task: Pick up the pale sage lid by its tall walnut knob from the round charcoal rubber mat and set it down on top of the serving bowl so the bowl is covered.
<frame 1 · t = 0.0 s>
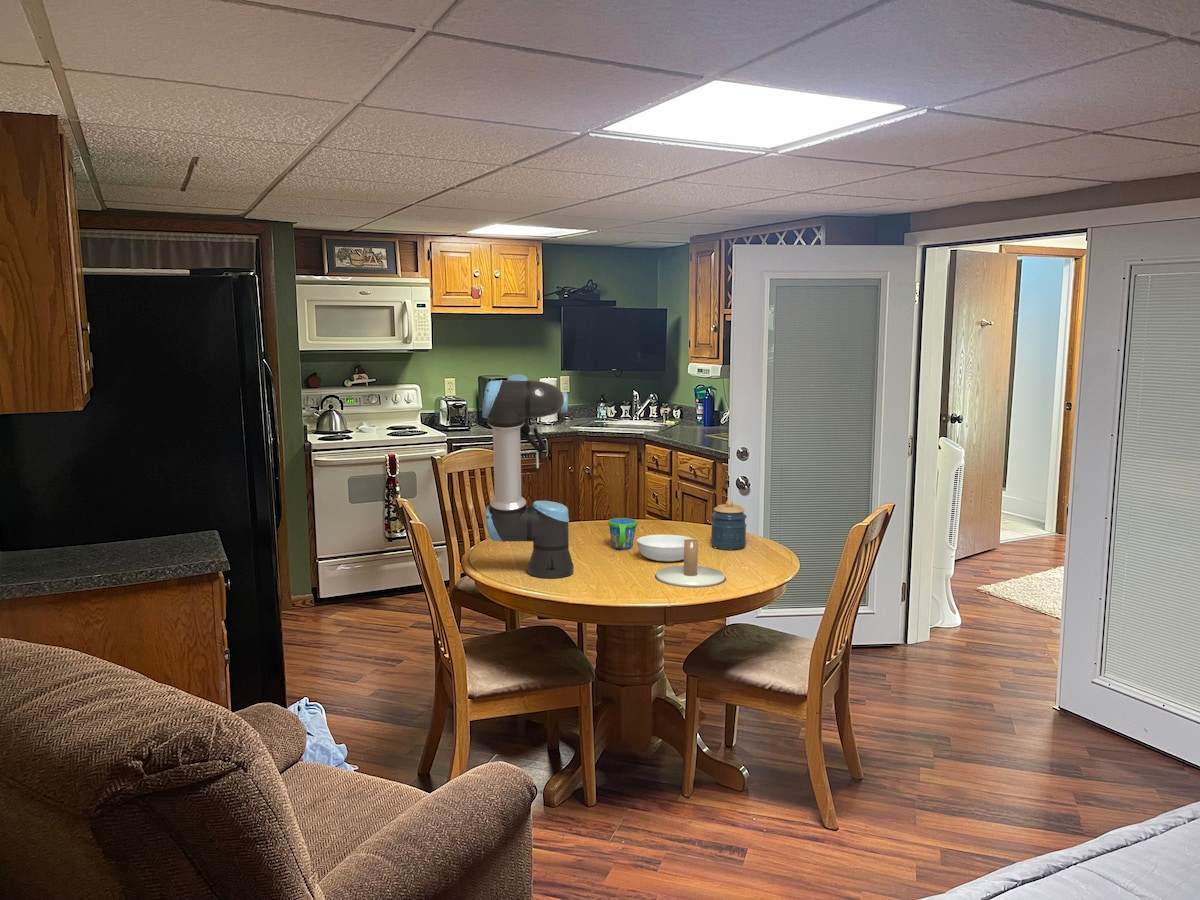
hand: (519, 466, 335), 28 cm above the table, tool tilted 20°, fingers open, 13 cm apart
canister: (728, 547, 329), on the table
snack cup: (622, 548, 326), on the table
serving bowl: (666, 560, 310), on the table
mat: (690, 579, 284), on the table
lid: (690, 577, 284), point 1 cm above the table, touching mat
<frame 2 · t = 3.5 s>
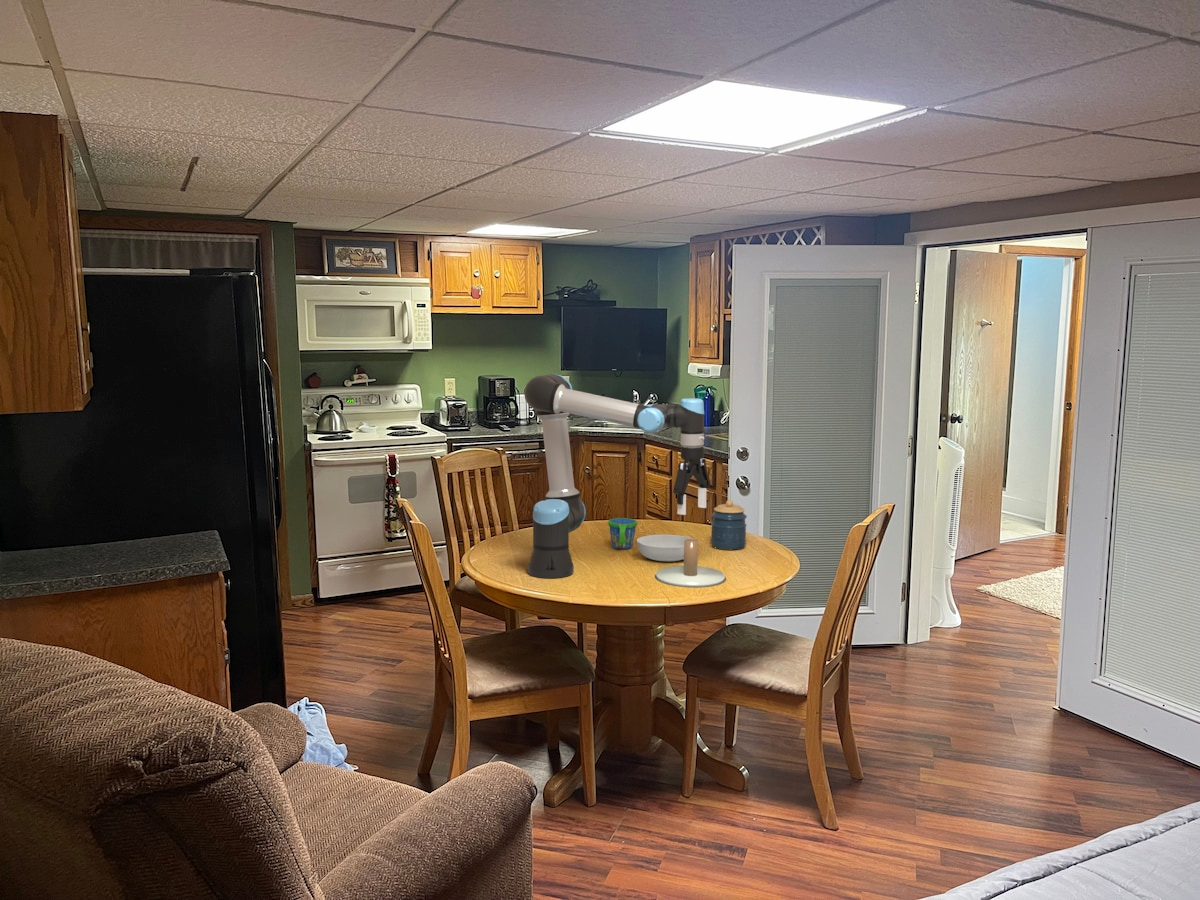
hand: (692, 511, 288), 21 cm above the table, tool pointing down, fingers open, 13 cm apart
nothing on the table moved.
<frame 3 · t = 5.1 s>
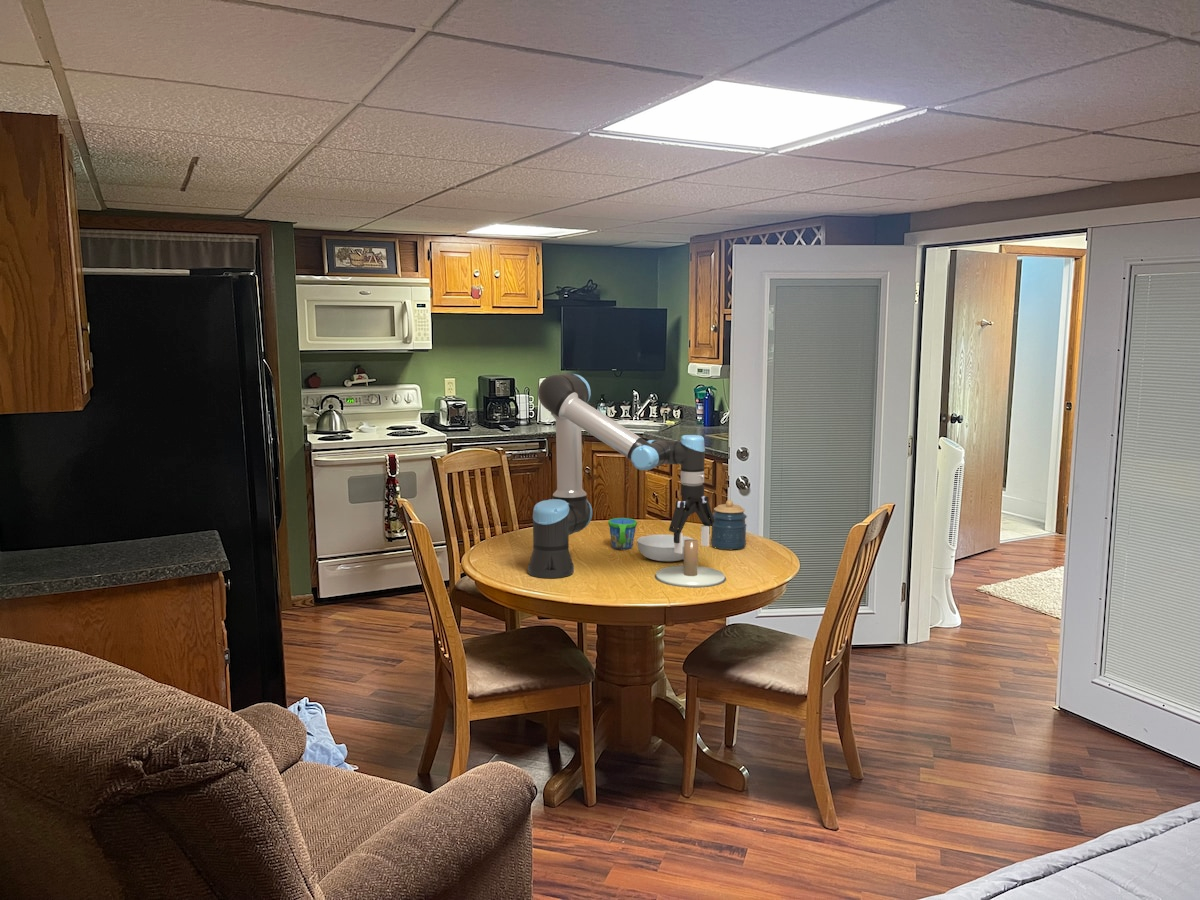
hand: (691, 549, 283), 10 cm above the table, tool pointing down, fingers open, 13 cm apart
nothing on the table moved.
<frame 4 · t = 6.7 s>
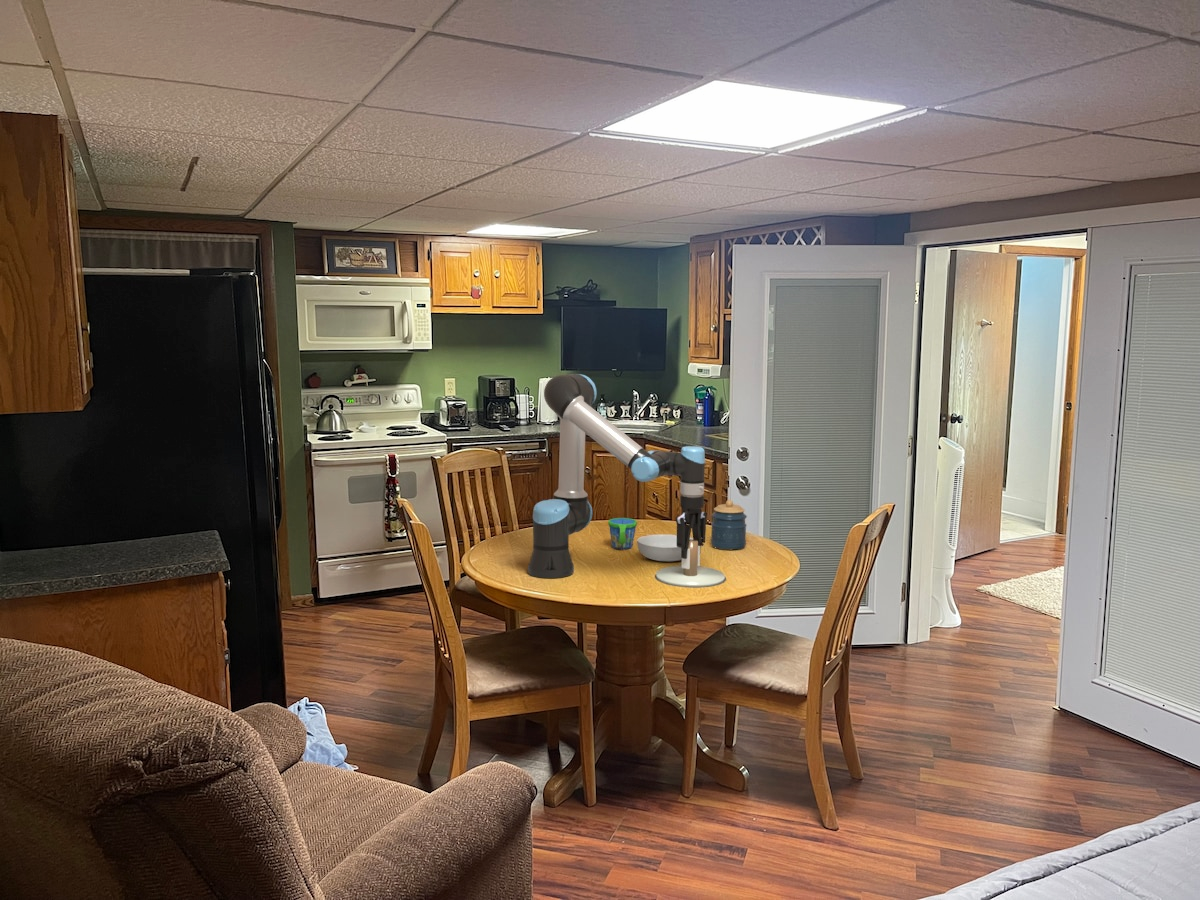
hand: (690, 566, 284), 4 cm above the table, tool pointing down, fingers closed on lid, 4 cm apart
lid: (690, 577, 284), point 1 cm above the table, touching gripper, mat
everything else where it was.
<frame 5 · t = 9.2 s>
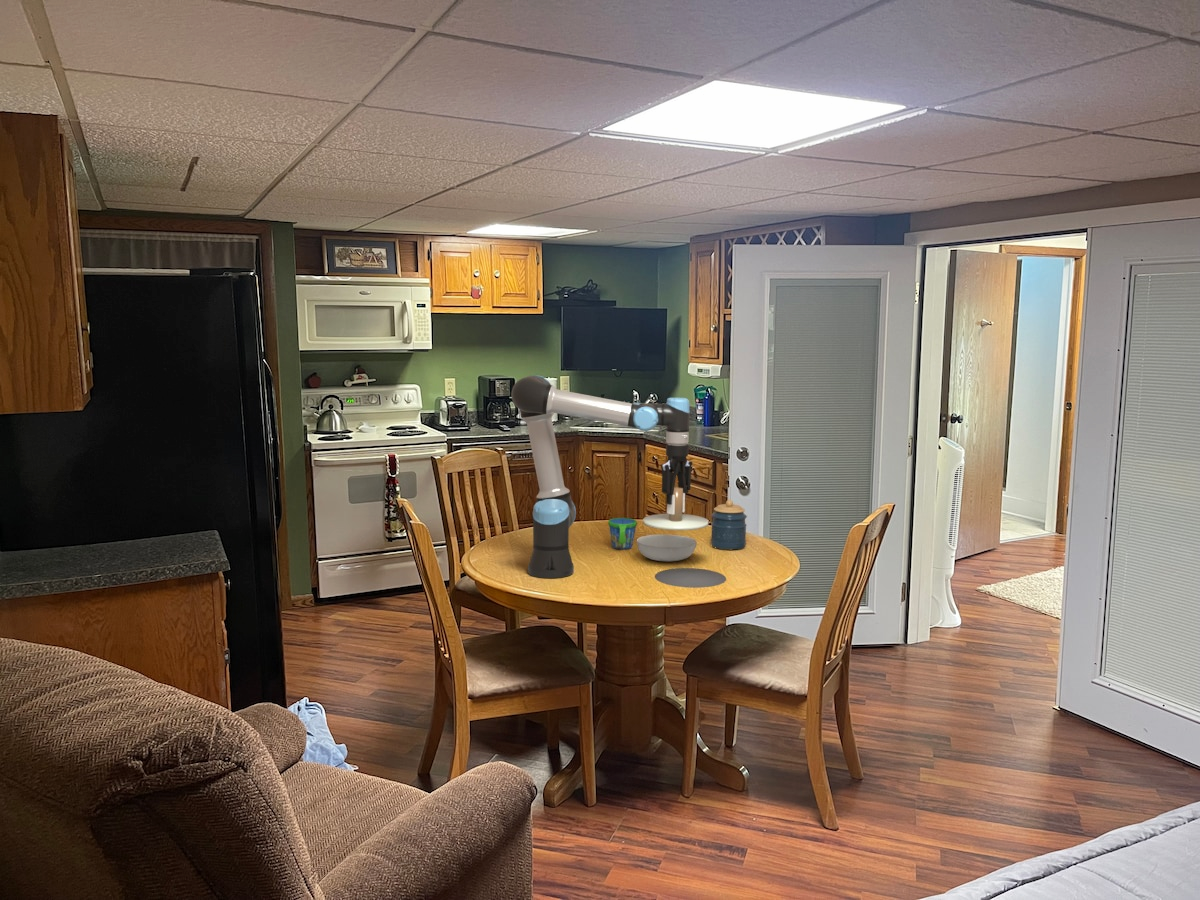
hand: (675, 512, 298), 19 cm above the table, tool pointing down, fingers closed on lid, 4 cm apart
lid: (675, 523, 298), point 15 cm above the table, touching gripper
everything else where it was.
when the fingers open (12 cm above the table, at t = 11.7 s): lid drops 2 cm, resting on serving bowl.
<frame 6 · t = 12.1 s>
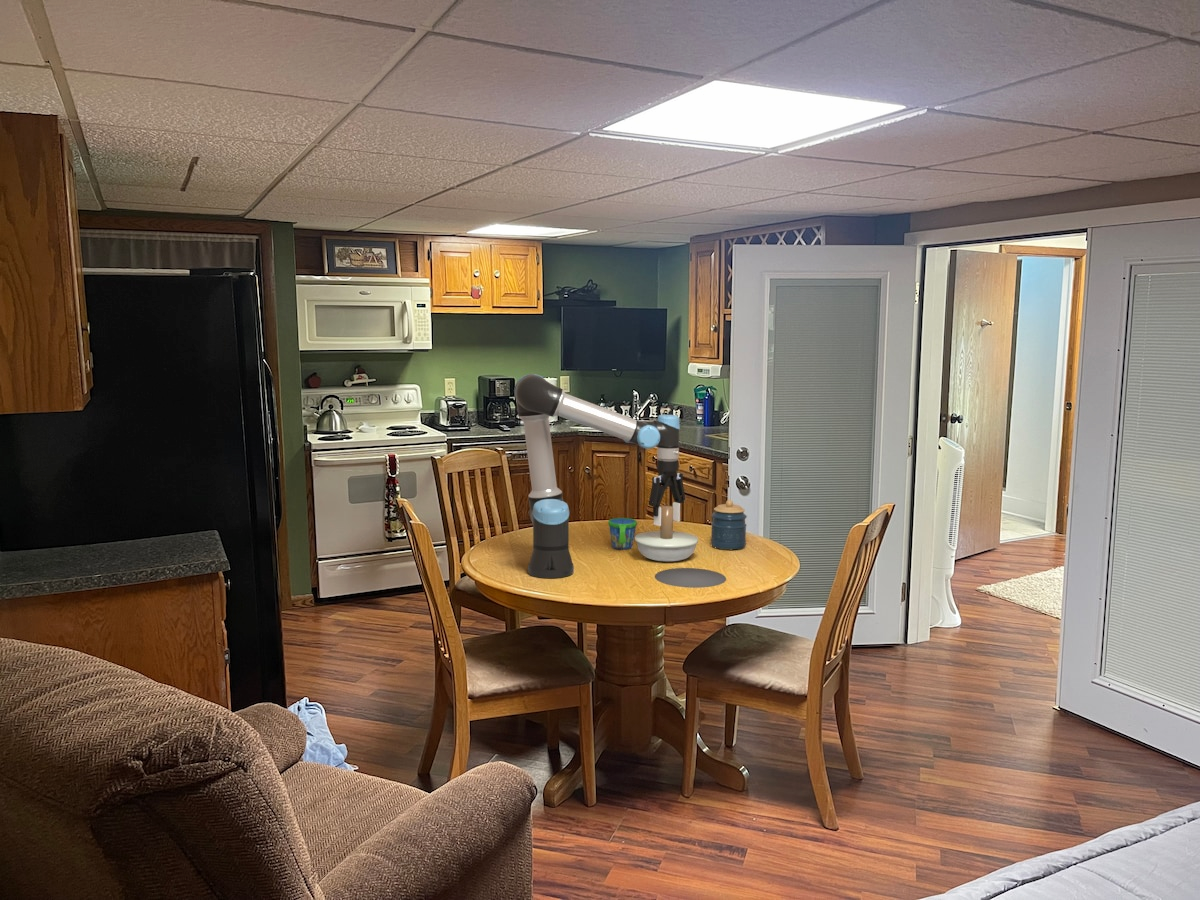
hand: (666, 523, 308), 13 cm above the table, tool pointing down, fingers open, 9 cm apart
serving bowl: (665, 560, 310), on the table, touching lid
lid: (666, 540, 309), point 7 cm above the table, touching serving bowl
everything else where it was.
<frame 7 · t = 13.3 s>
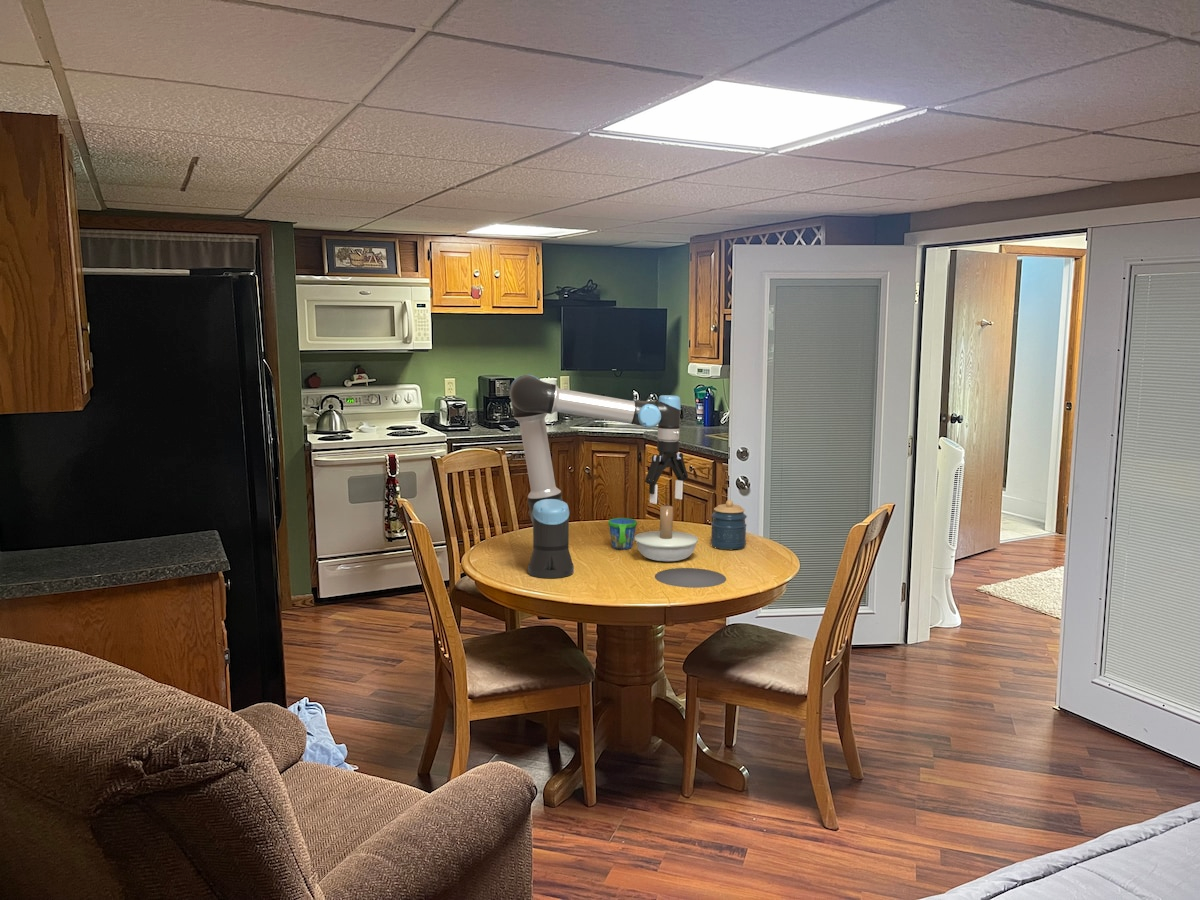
hand: (666, 501, 307), 21 cm above the table, tool pointing down, fingers open, 13 cm apart
nothing on the table moved.
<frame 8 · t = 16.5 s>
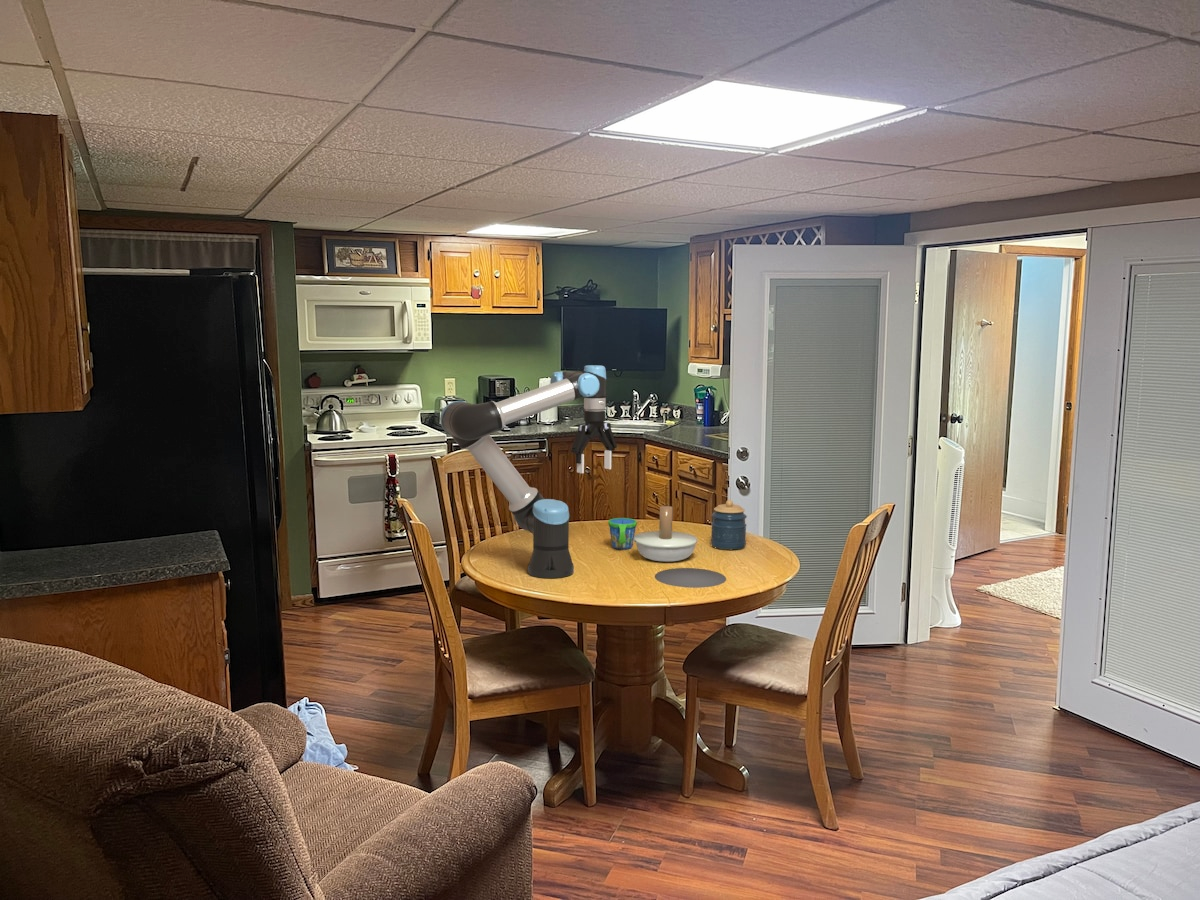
hand: (594, 470, 308), 31 cm above the table, tool pointing down, fingers open, 13 cm apart
nothing on the table moved.
at the end: lid 0.1 cm from the serving bowl (horizontally); lid point 6.6 cm above the table; the gripper is holding nothing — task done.
